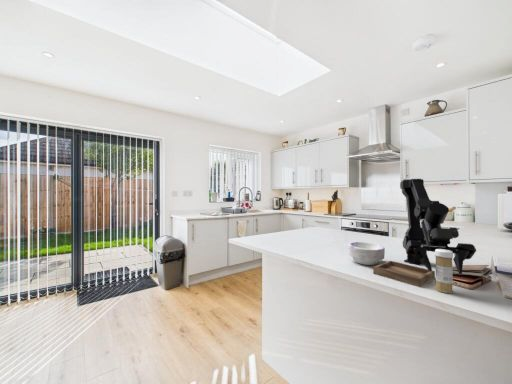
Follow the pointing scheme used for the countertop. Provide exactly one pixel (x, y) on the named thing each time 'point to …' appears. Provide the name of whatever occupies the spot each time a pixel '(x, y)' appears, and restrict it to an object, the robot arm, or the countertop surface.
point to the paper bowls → (366, 252)
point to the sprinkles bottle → (444, 270)
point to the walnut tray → (404, 273)
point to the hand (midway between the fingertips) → (445, 272)
